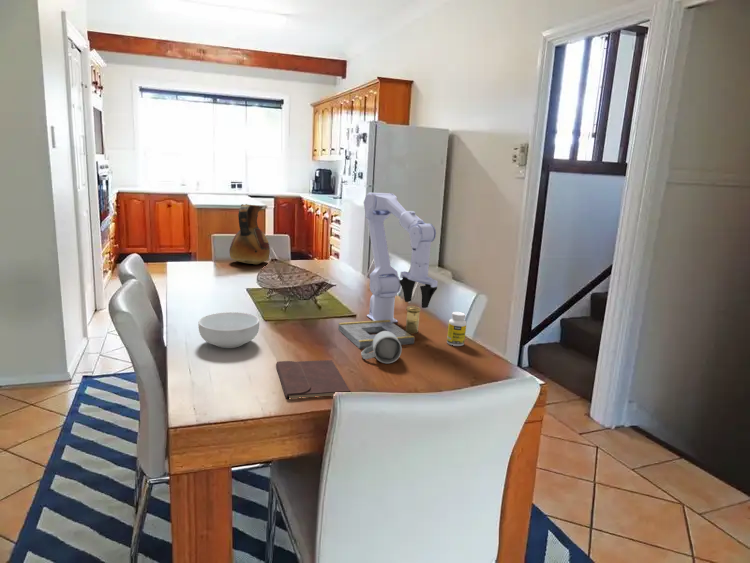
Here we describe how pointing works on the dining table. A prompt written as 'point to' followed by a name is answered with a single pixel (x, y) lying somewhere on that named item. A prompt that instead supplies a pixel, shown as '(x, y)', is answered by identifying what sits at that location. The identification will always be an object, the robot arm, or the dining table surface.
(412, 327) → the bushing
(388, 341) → the ceramic mug
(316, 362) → the notebook
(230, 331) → the cereal bowl
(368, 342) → the jig
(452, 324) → the supplement bottle
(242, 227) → the ceramic pitcher
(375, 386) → the dining table surface
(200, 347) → the dining table surface
